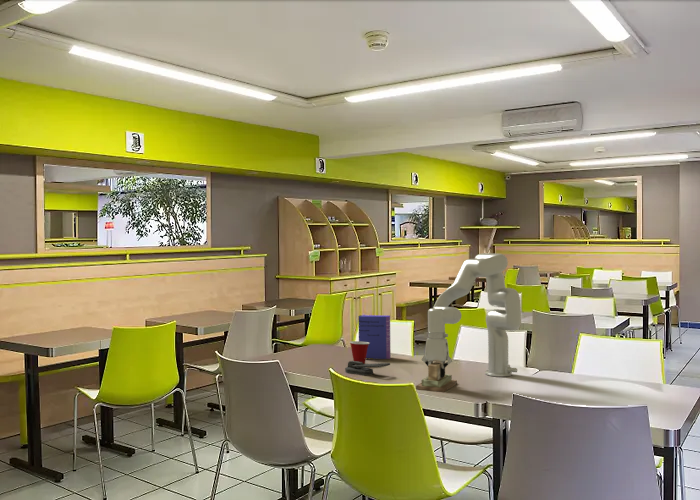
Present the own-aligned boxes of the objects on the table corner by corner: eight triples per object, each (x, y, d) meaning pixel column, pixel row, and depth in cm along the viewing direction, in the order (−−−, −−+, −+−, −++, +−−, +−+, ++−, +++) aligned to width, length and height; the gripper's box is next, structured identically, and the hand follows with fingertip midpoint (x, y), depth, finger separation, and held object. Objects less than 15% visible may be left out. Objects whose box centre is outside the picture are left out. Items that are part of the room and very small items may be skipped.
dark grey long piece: (380, 365, 299) (342, 359, 317) (380, 379, 299) (342, 372, 317) (392, 362, 306) (354, 356, 323) (392, 376, 306) (354, 369, 323)
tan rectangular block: (445, 378, 287) (445, 361, 287) (437, 384, 276) (436, 366, 276) (436, 378, 289) (436, 360, 289) (427, 383, 278) (427, 365, 278)
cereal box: (390, 357, 356) (390, 315, 356) (389, 359, 352) (389, 316, 351) (360, 357, 359) (359, 315, 359) (358, 358, 354) (358, 316, 354)
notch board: (457, 383, 288) (456, 374, 288) (444, 391, 272) (444, 382, 272) (430, 381, 294) (430, 372, 294) (416, 389, 278) (415, 380, 278)
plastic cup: (374, 363, 338) (373, 341, 337) (358, 366, 331) (358, 343, 331) (360, 361, 346) (360, 339, 346) (345, 363, 339) (345, 341, 339)
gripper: (457, 335, 282) (457, 376, 282) (421, 333, 290) (422, 373, 290) (451, 338, 275) (452, 379, 275) (415, 336, 283) (416, 376, 283)
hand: (436, 376), depth 283 cm, fingers closed on tan rectangular block, 4 cm apart
